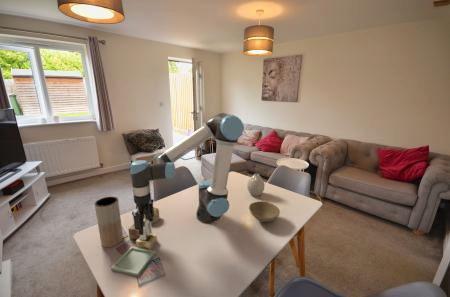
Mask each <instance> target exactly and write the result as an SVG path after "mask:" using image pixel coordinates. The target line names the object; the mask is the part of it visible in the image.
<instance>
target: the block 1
mask: <svg viewBox="0 0 450 297" xmlns="http://www.w3.org/2000/svg"><path fill="white" fill-rule="evenodd" d="M128 236H129V239H130V240H134V239H136V240H137V239H138V238H139V237H140V235H139V230H135V225H134V223H132V225H131V226H129V228H128ZM136 240H135V241H136Z"/></svg>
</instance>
